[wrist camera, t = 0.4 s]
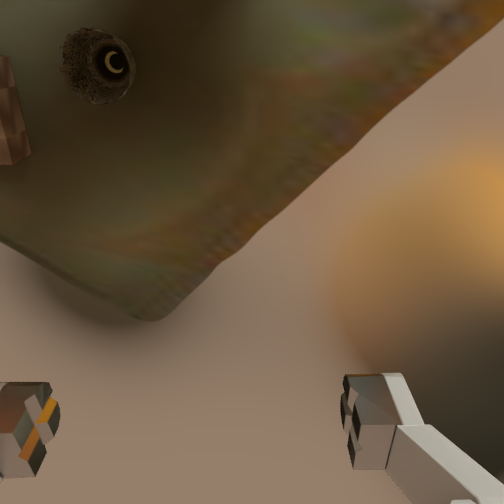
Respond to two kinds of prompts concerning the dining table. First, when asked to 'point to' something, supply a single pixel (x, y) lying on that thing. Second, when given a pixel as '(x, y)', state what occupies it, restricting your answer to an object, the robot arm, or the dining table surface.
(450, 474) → the robot arm
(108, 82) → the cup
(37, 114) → the dining table surface
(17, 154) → the socket block
